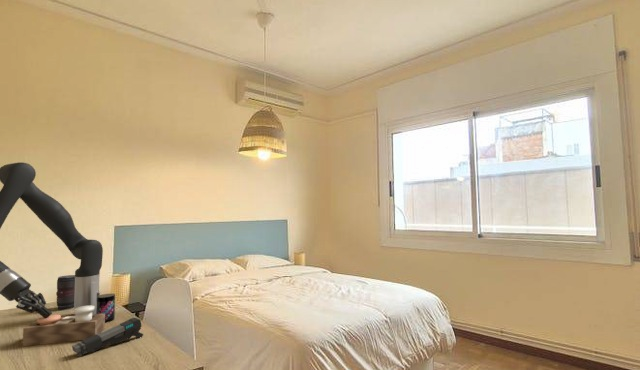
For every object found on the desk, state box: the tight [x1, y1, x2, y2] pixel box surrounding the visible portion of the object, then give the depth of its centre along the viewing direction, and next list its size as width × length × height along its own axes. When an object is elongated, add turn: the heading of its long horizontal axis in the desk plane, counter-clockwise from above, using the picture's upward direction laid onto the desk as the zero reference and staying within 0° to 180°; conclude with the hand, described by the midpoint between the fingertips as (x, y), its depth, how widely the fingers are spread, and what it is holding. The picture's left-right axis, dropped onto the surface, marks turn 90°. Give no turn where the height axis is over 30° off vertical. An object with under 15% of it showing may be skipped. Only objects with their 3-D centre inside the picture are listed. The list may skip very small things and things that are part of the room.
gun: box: [71, 317, 144, 357], centre depth 116 cm, size 4×20×10 cm, turn 142°
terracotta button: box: [37, 314, 62, 325], centre depth 124 cm, size 7×7×7 cm
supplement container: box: [96, 293, 116, 324], centre depth 144 cm, size 7×7×10 cm
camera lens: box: [56, 274, 75, 311], centre depth 164 cm, size 8×8×15 cm
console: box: [22, 314, 106, 347], centre depth 125 cm, size 22×10×6 cm, turn 105°
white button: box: [72, 305, 95, 322], centre depth 127 cm, size 7×7×7 cm
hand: (49, 315), depth 124 cm, fingers closed
